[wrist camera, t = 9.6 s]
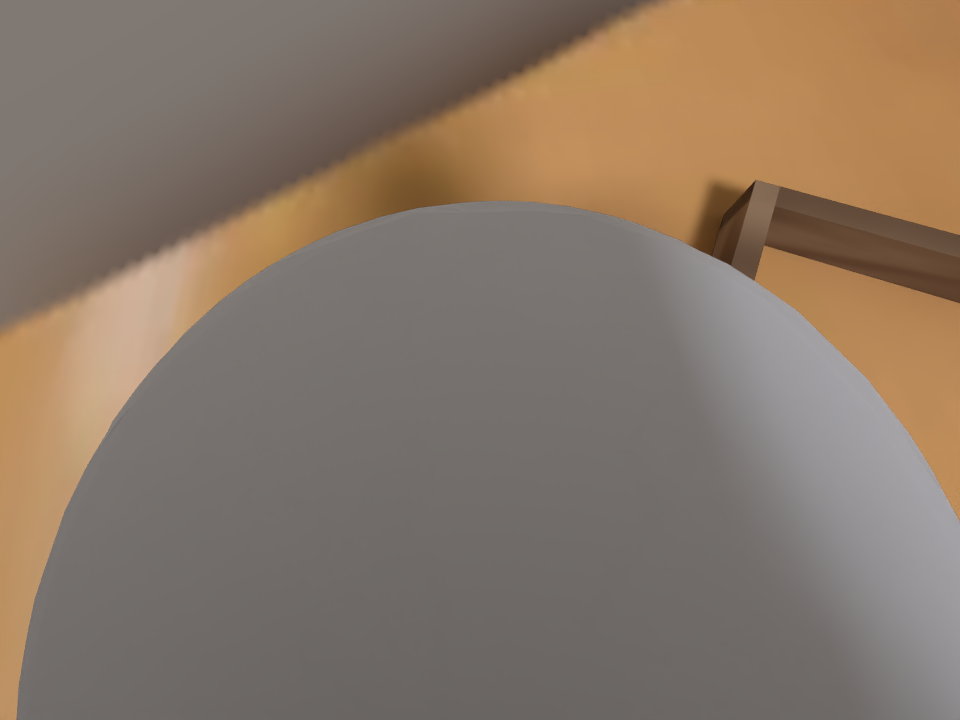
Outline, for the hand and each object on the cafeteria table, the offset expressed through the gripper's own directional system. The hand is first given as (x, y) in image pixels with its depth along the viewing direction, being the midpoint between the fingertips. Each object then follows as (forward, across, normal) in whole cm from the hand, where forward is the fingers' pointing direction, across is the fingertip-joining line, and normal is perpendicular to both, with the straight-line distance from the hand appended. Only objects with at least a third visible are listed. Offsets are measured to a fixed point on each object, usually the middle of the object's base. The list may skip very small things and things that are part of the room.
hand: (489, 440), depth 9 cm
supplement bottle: (+4, 0, +6) cm, 7 cm away
